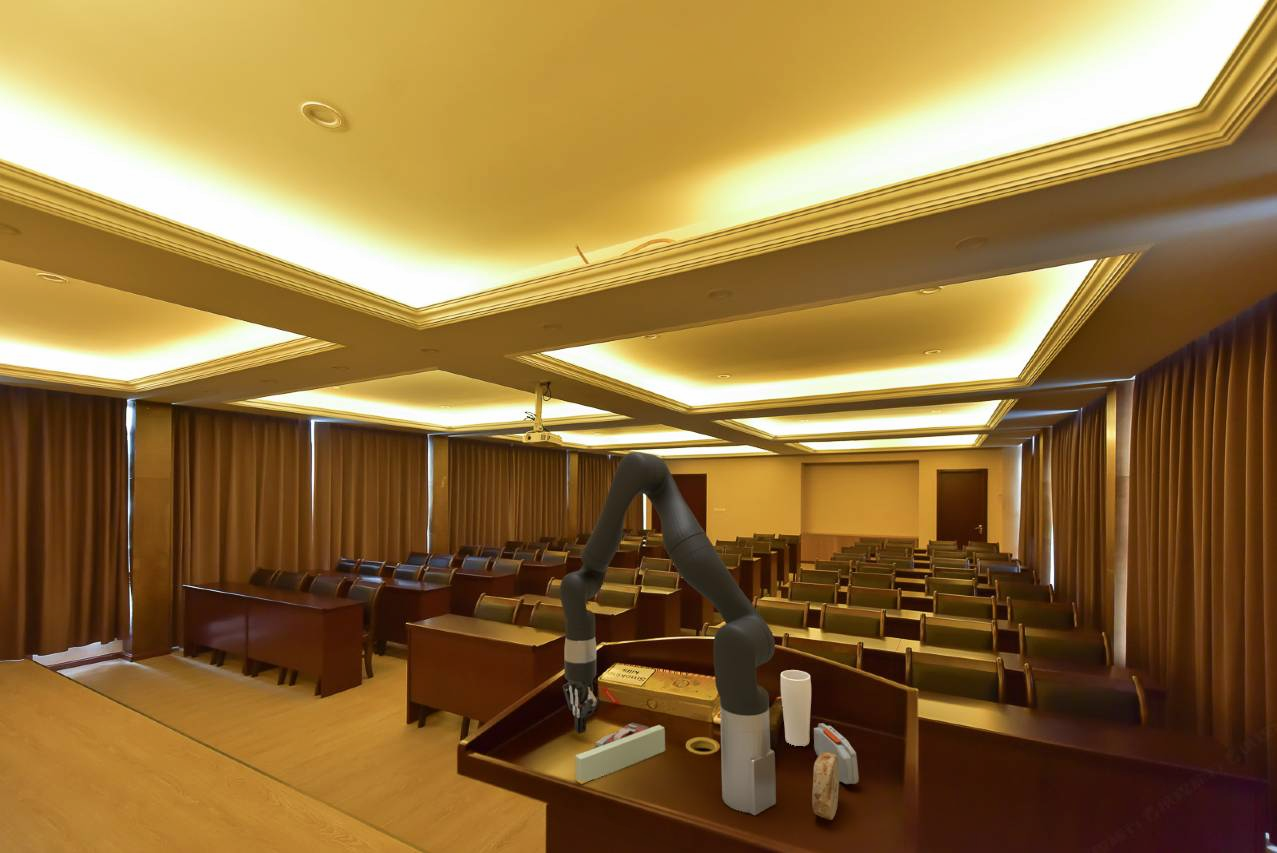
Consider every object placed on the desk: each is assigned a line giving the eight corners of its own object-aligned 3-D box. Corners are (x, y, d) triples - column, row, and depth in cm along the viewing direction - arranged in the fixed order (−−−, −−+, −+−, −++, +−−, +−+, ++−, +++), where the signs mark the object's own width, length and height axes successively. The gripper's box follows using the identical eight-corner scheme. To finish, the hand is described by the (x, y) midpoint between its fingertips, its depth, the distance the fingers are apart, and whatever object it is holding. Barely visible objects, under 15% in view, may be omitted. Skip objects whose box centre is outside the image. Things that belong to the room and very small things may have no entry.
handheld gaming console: (860, 792, 112) (859, 749, 113) (846, 793, 112) (845, 750, 112) (823, 755, 126) (822, 717, 127) (811, 756, 126) (810, 718, 126)
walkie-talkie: (623, 731, 140) (573, 769, 123) (622, 712, 140) (573, 747, 123) (655, 739, 135) (608, 780, 118) (654, 719, 136) (608, 757, 118)
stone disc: (822, 795, 111) (820, 741, 112) (842, 801, 109) (840, 746, 110) (809, 825, 102) (807, 766, 102) (831, 831, 100) (829, 771, 101)
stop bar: (665, 751, 129) (664, 727, 129) (580, 785, 116) (580, 759, 116) (659, 747, 131) (658, 724, 131) (575, 781, 117) (575, 755, 117)
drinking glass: (818, 741, 132) (815, 674, 133) (804, 752, 127) (801, 682, 128) (791, 732, 137) (789, 667, 138) (776, 742, 132) (774, 675, 133)
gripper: (609, 660, 134) (609, 737, 133) (579, 646, 144) (578, 717, 143) (582, 667, 129) (581, 747, 128) (552, 652, 140) (552, 726, 139)
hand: (580, 731), depth 136 cm, fingers closed
